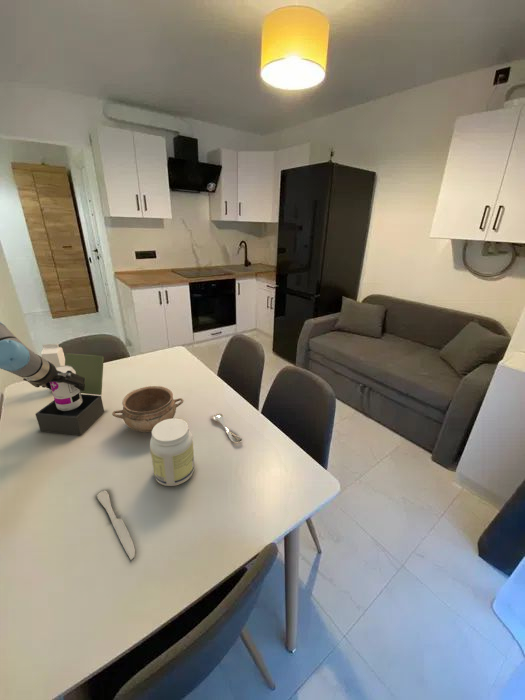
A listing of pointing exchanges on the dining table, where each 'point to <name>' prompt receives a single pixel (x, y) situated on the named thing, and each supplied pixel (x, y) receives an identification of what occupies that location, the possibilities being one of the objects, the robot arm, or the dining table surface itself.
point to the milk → (53, 354)
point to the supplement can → (66, 392)
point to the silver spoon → (220, 419)
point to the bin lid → (87, 371)
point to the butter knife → (117, 524)
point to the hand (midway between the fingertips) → (70, 387)
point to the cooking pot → (148, 407)
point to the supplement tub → (172, 452)
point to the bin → (71, 416)
